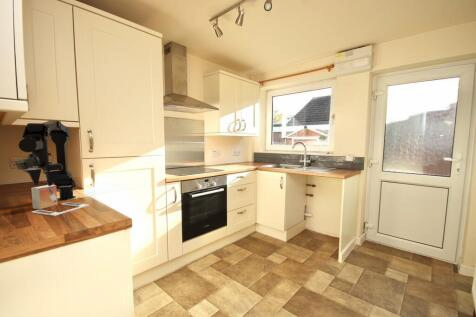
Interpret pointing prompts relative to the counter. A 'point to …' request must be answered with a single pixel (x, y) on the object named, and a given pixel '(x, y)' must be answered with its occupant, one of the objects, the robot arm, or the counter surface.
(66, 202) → the bracket
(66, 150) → the robot arm
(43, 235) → the counter surface
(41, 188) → the small box
